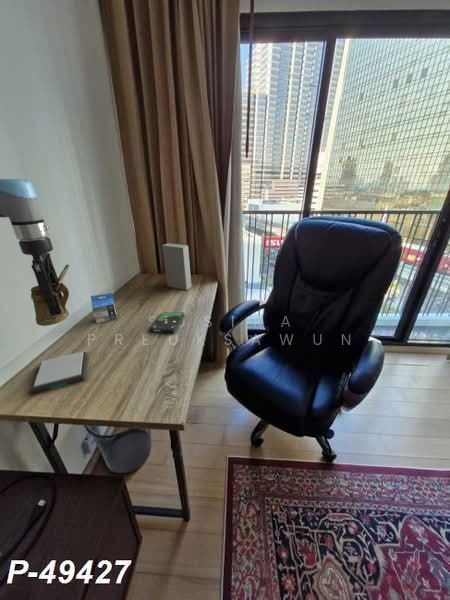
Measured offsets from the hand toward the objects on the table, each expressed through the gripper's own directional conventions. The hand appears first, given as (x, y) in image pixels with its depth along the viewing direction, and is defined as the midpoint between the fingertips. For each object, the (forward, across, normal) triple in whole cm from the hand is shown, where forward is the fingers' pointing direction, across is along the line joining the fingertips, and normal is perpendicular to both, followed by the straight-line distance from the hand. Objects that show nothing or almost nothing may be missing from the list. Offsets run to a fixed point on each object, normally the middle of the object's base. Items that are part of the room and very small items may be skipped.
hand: (58, 308), depth 82 cm
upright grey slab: (+21, +47, -52) cm, 73 cm away
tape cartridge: (+21, +24, -11) cm, 34 cm away
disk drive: (+21, +8, -36) cm, 42 cm away
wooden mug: (+3, 0, 0) cm, 3 cm away
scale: (+21, -7, +3) cm, 22 cm away
